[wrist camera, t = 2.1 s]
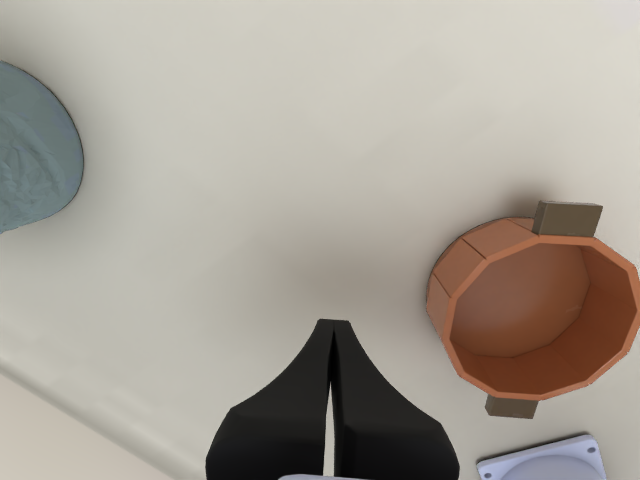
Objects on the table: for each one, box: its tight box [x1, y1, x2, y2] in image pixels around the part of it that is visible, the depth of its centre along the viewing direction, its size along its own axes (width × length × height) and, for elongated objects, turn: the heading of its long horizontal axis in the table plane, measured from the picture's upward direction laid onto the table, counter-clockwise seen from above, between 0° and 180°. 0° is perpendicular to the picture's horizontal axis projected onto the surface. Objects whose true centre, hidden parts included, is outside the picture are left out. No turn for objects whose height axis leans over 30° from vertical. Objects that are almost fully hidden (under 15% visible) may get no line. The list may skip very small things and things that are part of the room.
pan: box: [426, 201, 640, 419], centre depth 17 cm, size 9×12×4 cm
